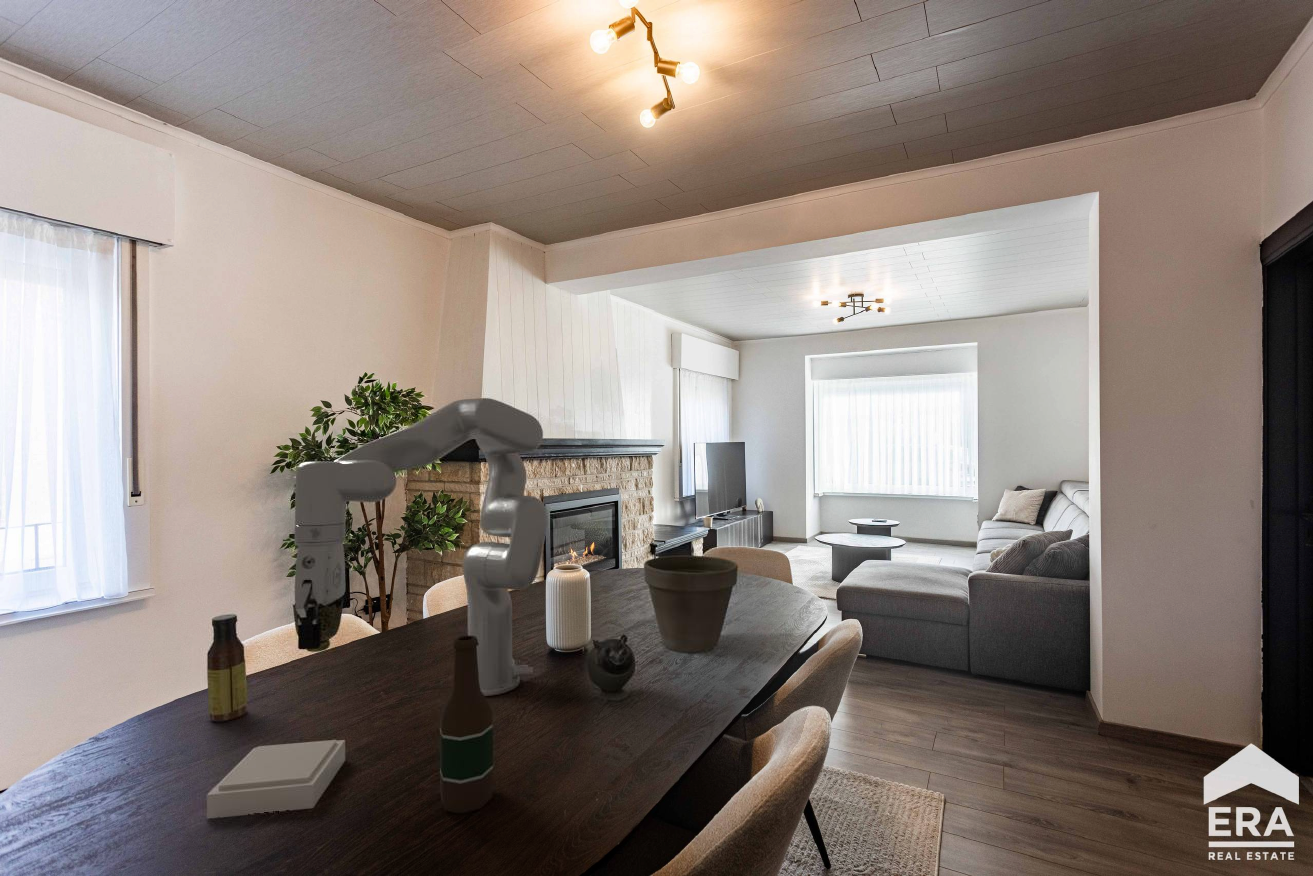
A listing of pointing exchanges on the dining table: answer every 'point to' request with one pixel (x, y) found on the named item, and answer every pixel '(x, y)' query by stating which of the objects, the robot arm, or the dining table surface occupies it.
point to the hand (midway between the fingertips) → (318, 641)
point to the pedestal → (277, 779)
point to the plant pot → (690, 599)
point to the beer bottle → (466, 736)
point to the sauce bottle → (226, 671)
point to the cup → (325, 622)
